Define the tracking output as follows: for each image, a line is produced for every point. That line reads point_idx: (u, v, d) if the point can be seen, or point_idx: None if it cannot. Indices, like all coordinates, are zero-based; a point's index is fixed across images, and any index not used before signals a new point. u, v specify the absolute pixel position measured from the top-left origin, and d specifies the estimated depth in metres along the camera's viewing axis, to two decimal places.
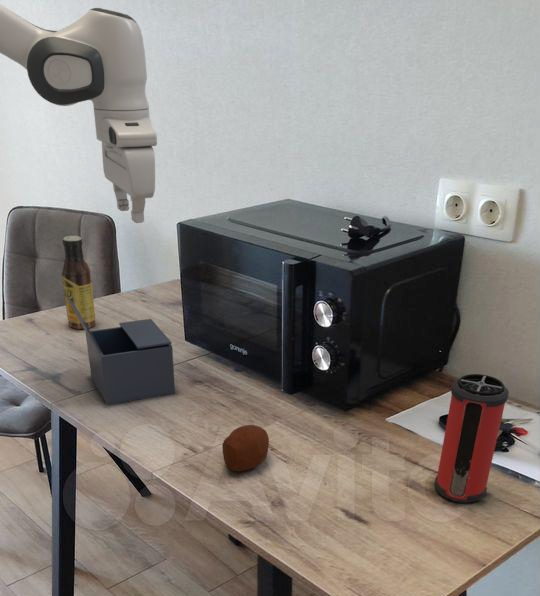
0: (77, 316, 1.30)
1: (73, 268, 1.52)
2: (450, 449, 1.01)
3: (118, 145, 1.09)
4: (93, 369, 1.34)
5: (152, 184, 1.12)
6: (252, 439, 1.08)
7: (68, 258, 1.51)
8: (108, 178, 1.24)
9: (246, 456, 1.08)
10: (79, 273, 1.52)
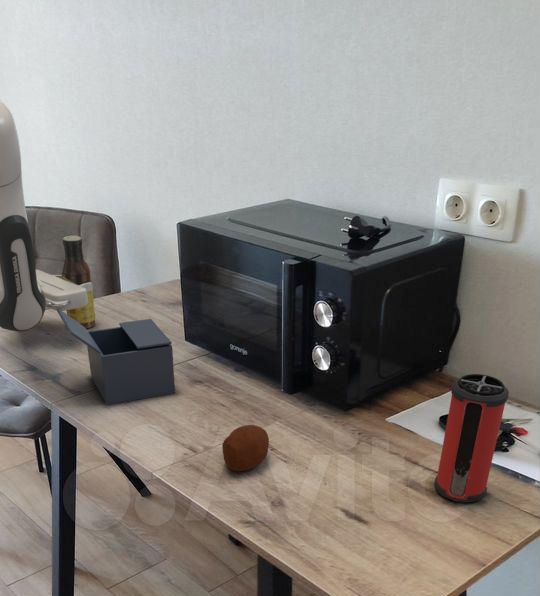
0: (71, 321, 1.30)
1: (73, 268, 1.52)
2: (450, 449, 1.01)
3: None
4: (93, 369, 1.34)
5: None
6: (252, 439, 1.08)
7: (68, 258, 1.51)
8: (76, 285, 1.49)
9: (246, 456, 1.08)
10: (79, 273, 1.52)
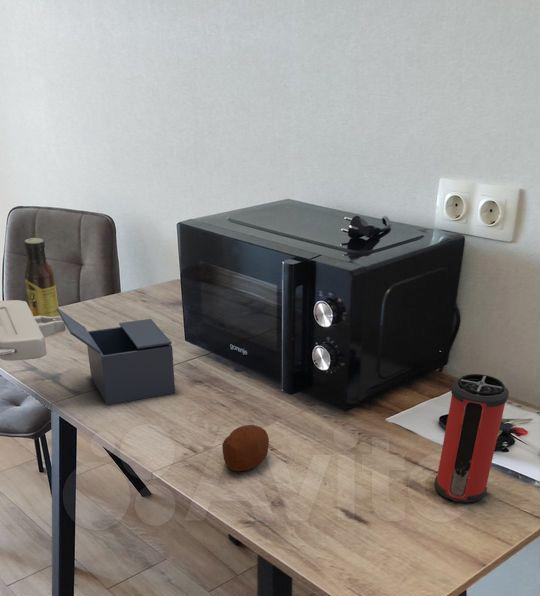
0: None
1: (35, 270, 1.50)
2: (450, 449, 1.01)
3: None
4: (93, 369, 1.34)
5: None
6: (252, 439, 1.08)
7: (30, 261, 1.49)
8: (37, 330, 1.17)
9: (246, 456, 1.08)
10: (41, 276, 1.50)
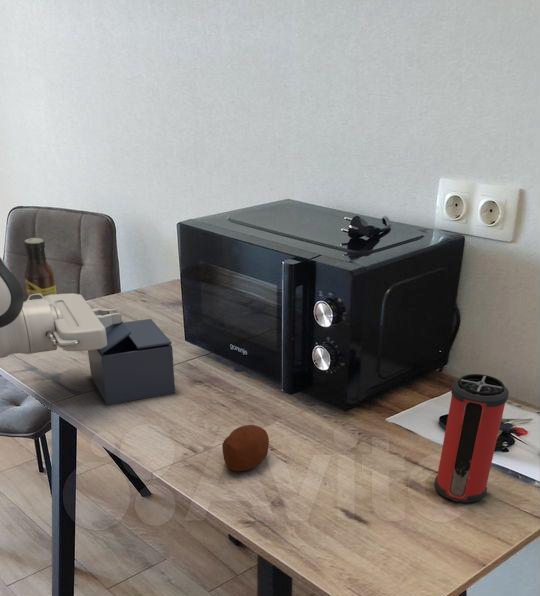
0: None
1: (35, 270, 1.50)
2: (450, 449, 1.01)
3: None
4: (93, 369, 1.34)
5: None
6: (252, 439, 1.08)
7: (30, 261, 1.49)
8: (98, 321, 1.20)
9: (246, 456, 1.08)
10: (41, 276, 1.50)
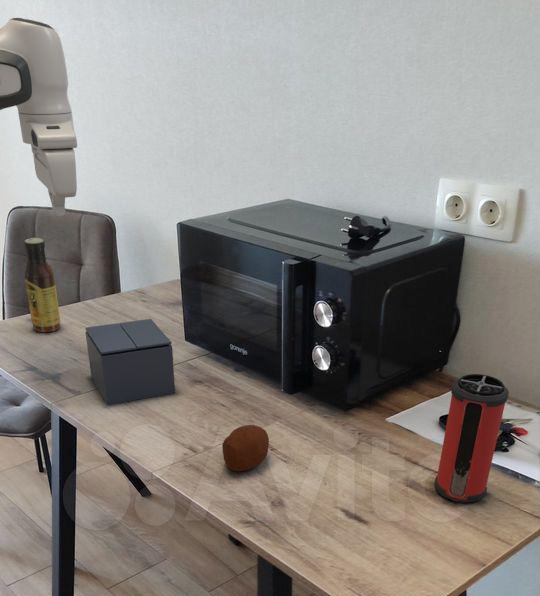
0: (103, 327, 1.33)
1: (35, 270, 1.50)
2: (450, 449, 1.01)
3: (39, 147, 1.15)
4: (93, 369, 1.34)
5: (73, 184, 1.18)
6: (252, 439, 1.08)
7: (30, 261, 1.49)
8: (39, 178, 1.30)
9: (246, 456, 1.08)
10: (41, 276, 1.50)
